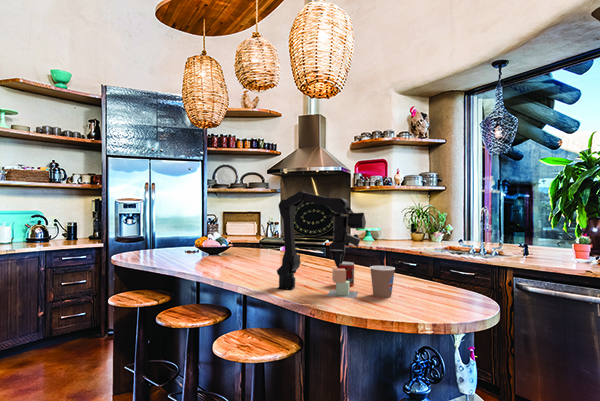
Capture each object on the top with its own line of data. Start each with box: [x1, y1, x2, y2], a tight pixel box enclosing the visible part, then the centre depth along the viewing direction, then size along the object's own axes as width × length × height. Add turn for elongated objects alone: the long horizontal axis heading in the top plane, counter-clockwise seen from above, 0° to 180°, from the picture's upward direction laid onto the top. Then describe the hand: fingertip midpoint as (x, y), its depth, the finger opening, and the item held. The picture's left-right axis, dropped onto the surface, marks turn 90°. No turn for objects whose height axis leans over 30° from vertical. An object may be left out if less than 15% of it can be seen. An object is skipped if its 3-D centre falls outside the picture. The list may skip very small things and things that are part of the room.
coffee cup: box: [369, 265, 396, 299], centre depth 151 cm, size 10×10×12 cm
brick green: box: [335, 281, 351, 295], centre depth 153 cm, size 5×5×5 cm
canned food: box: [336, 261, 355, 288], centre depth 170 cm, size 8×8×11 cm
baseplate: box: [326, 289, 359, 299], centre depth 153 cm, size 12×12×1 cm
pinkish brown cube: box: [331, 267, 346, 284], centre depth 153 cm, size 5×5×5 cm
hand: (339, 265), depth 154 cm, fingers open, 9 cm apart
